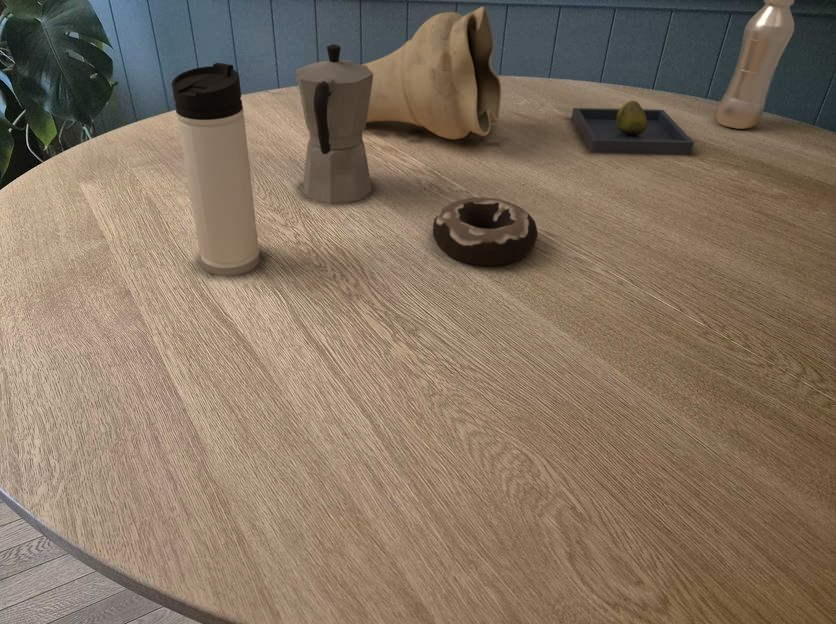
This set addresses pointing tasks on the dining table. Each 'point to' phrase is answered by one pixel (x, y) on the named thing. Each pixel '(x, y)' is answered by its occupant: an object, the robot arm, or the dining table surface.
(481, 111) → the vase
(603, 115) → the square tray
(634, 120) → the lime
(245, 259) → the travel mug
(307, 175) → the coffeepot
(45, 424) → the dining table surface
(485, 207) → the donut
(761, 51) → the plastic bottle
